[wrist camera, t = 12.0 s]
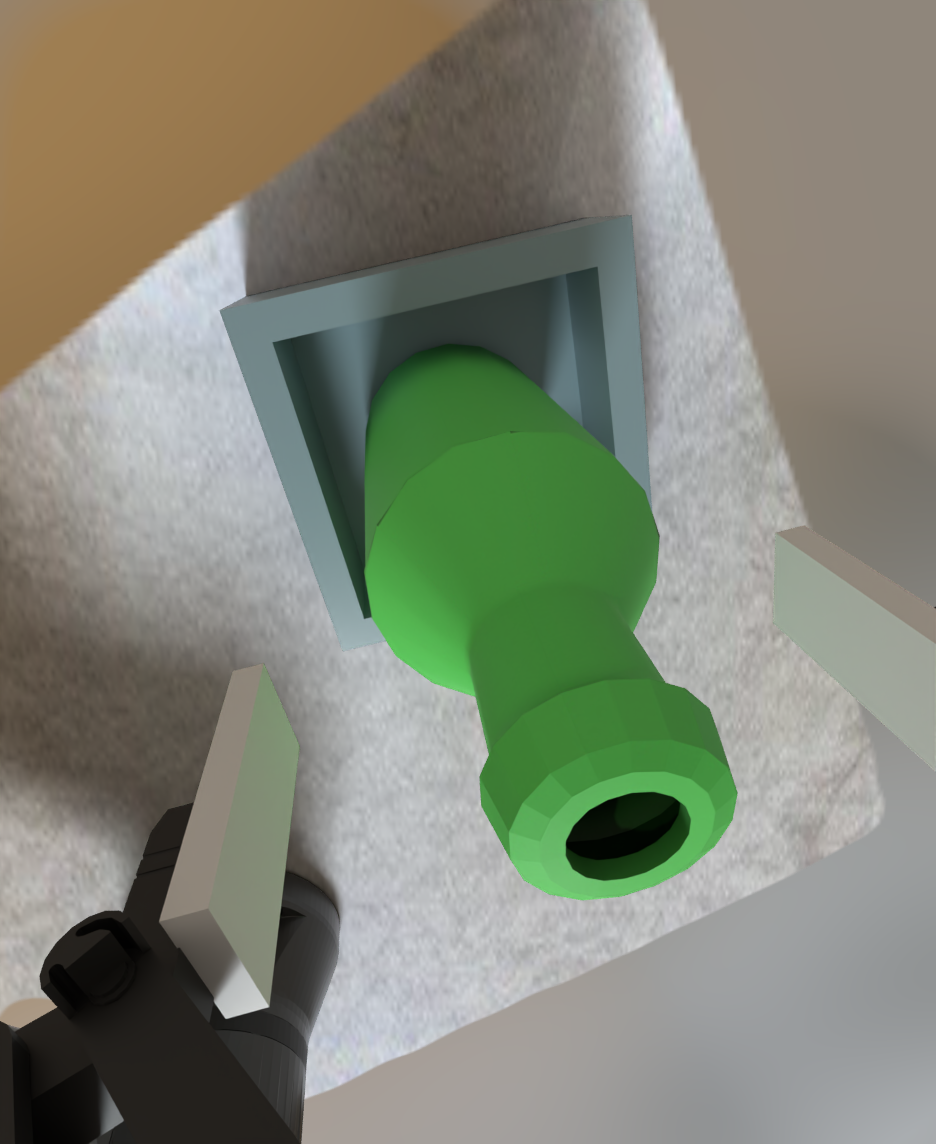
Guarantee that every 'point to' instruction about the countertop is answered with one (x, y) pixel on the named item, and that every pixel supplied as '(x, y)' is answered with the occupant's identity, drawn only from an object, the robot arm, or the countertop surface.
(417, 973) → the countertop surface
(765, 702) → the countertop surface
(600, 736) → the bottle
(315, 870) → the countertop surface
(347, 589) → the bin
